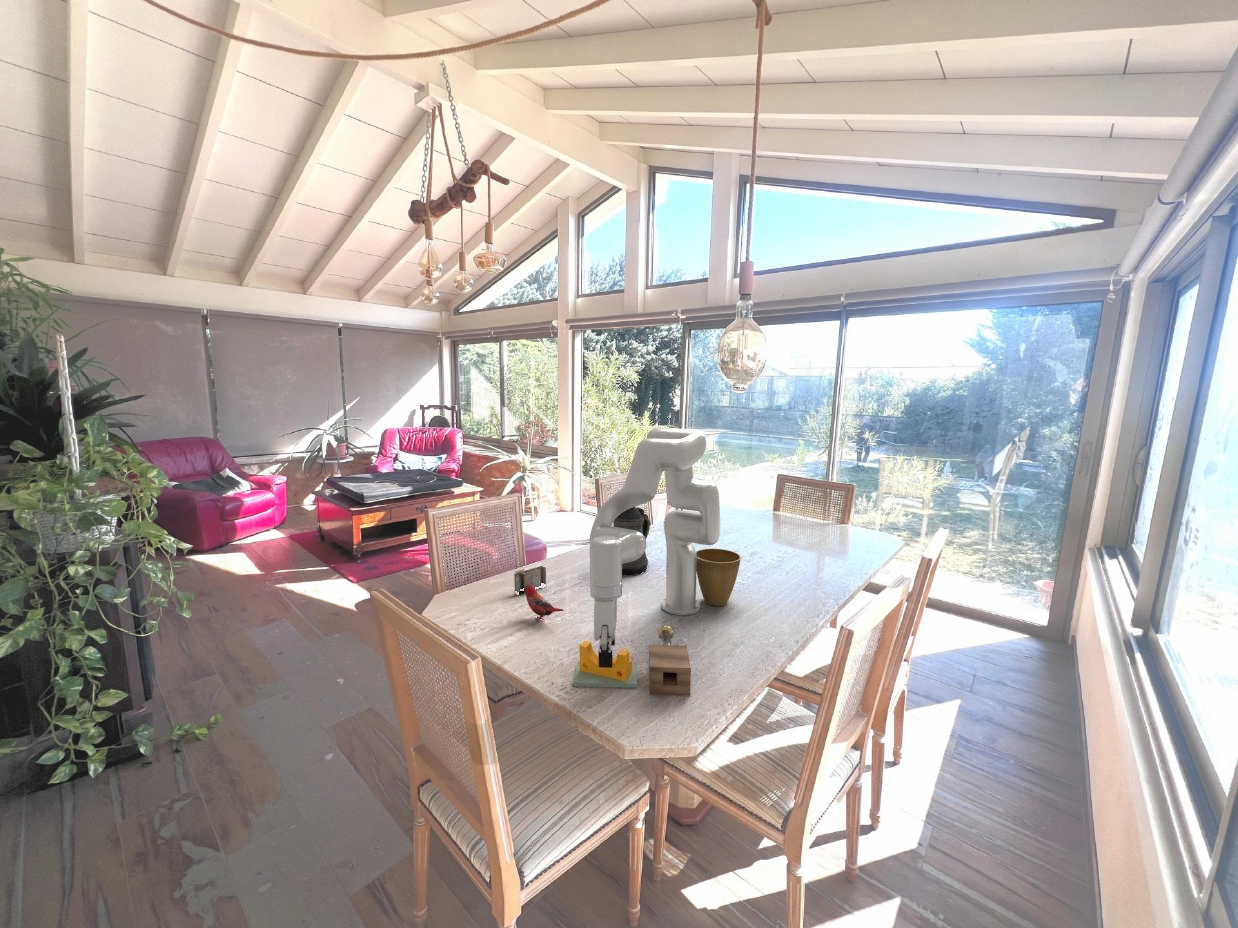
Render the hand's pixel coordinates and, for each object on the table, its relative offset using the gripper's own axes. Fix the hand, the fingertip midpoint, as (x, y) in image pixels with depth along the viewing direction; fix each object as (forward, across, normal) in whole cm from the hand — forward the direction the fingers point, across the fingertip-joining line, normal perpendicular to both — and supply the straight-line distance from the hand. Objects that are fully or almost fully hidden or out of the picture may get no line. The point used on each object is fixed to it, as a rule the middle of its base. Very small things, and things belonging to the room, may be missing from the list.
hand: (607, 655), depth 119 cm
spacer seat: (+5, 0, 0) cm, 5 cm away
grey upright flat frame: (+6, -51, -30) cm, 59 cm away
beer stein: (+7, -76, +3) cm, 76 cm away
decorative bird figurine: (+6, -28, -21) cm, 35 cm away
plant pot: (+6, -44, +33) cm, 56 cm away
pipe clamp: (+4, 0, 0) cm, 4 cm away
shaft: (+3, -7, +15) cm, 17 cm away
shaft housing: (+5, +2, +15) cm, 16 cm away
